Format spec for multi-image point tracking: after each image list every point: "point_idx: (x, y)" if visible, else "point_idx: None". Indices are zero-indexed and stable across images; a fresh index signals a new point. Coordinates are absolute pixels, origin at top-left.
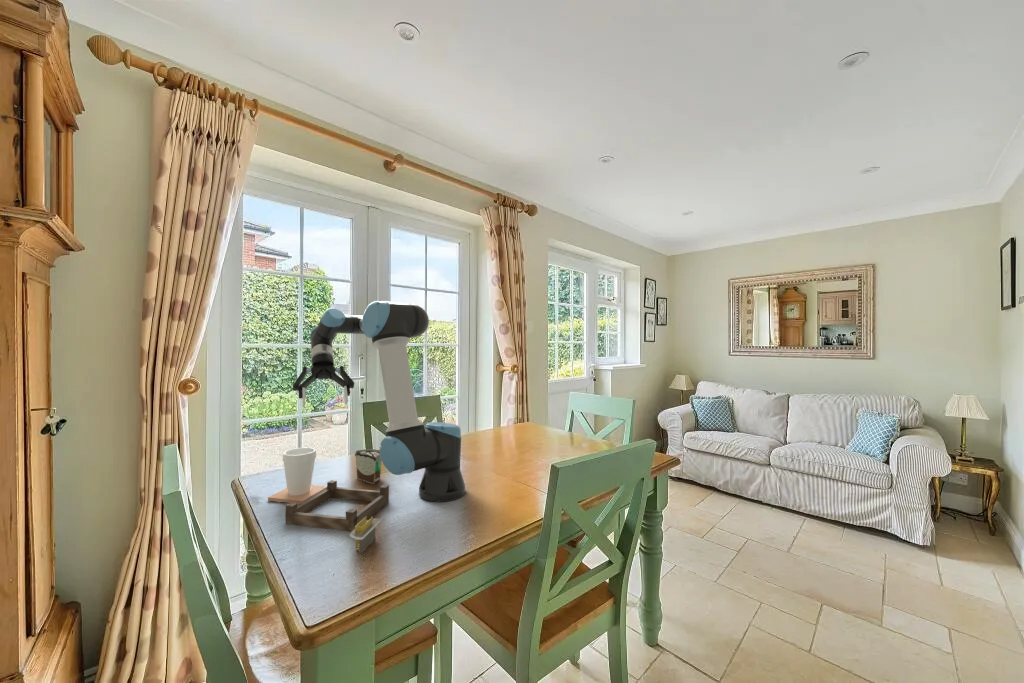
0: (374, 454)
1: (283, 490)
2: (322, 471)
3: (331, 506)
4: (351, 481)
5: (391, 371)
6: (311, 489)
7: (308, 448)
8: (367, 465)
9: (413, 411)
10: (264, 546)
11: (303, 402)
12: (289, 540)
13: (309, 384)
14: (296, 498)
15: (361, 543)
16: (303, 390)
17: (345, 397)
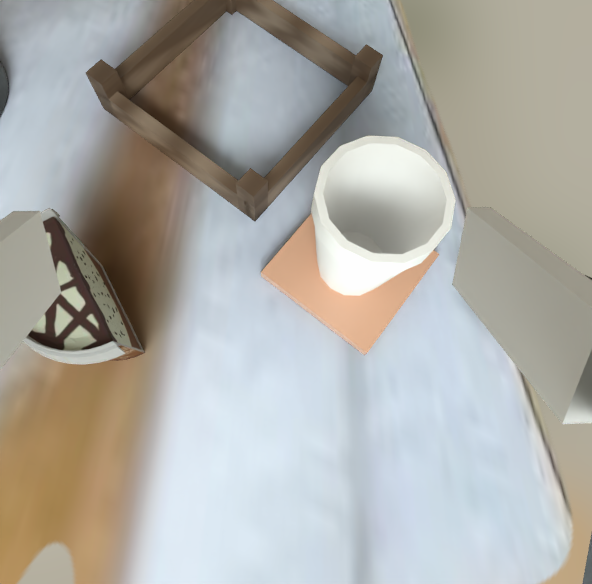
0: None
1: (400, 297)
2: (263, 522)
3: (260, 143)
4: (170, 331)
5: None
6: (313, 267)
7: (348, 241)
8: (94, 280)
9: None
10: (402, 13)
11: (485, 207)
12: (357, 15)
13: (585, 572)
14: None
15: None
16: (584, 285)
17: (21, 224)
